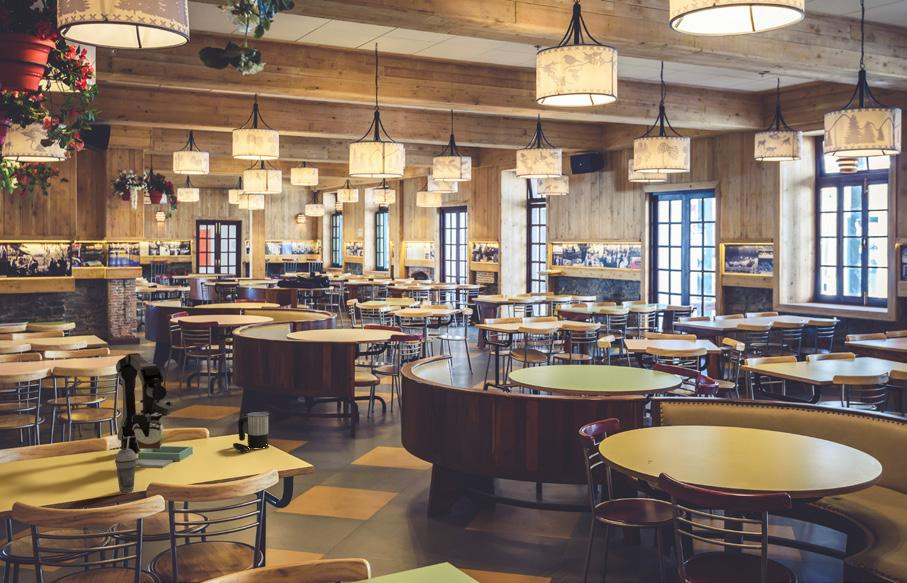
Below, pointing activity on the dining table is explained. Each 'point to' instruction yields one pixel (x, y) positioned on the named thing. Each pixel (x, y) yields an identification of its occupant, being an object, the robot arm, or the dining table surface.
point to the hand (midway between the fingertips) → (150, 435)
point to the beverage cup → (126, 469)
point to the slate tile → (152, 463)
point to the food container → (154, 436)
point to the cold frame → (166, 453)
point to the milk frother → (253, 431)
